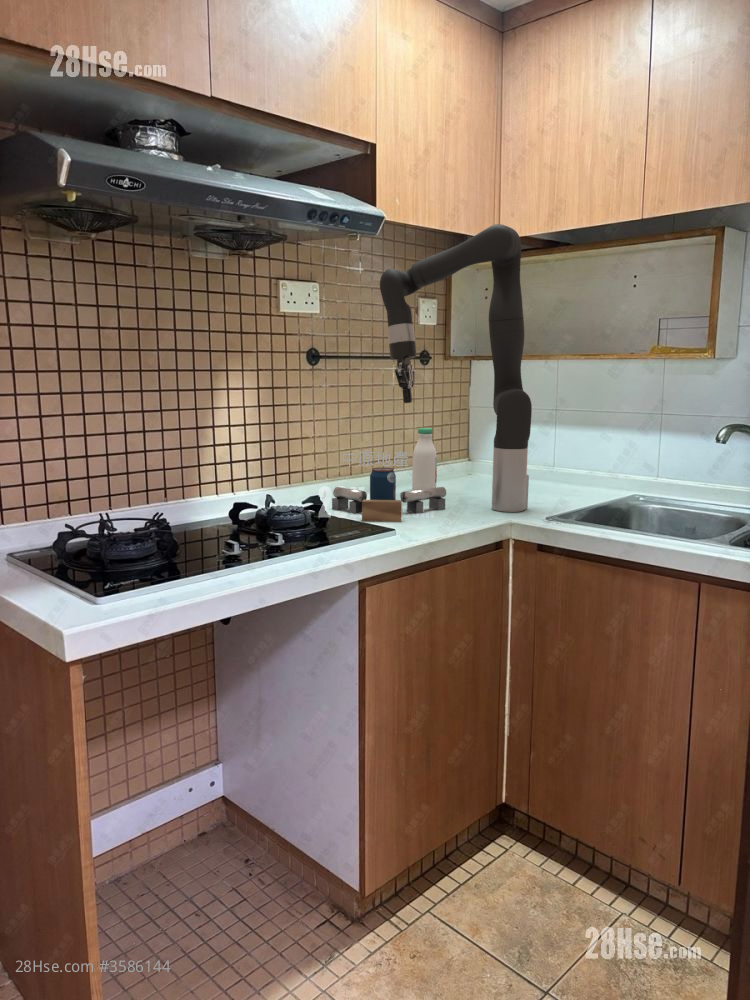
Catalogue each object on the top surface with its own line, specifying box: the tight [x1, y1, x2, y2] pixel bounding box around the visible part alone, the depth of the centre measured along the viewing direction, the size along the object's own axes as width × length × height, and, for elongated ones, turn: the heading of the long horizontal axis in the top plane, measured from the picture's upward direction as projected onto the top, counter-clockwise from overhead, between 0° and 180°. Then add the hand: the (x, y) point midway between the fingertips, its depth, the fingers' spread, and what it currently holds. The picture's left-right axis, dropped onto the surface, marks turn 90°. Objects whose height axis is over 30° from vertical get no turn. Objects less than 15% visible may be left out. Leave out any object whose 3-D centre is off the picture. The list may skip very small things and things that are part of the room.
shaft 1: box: [331, 486, 368, 514], centre depth 195 cm, size 10×4×6 cm, turn 47°
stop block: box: [361, 499, 403, 523], centre depth 183 cm, size 3×10×5 cm, turn 87°
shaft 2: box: [399, 486, 447, 514], centre depth 196 cm, size 14×4×6 cm, turn 127°
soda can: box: [369, 467, 397, 500], centre depth 192 cm, size 7×7×12 cm
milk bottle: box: [411, 427, 438, 490], centre depth 228 cm, size 8×8×20 cm
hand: (408, 402), depth 205 cm, fingers closed
